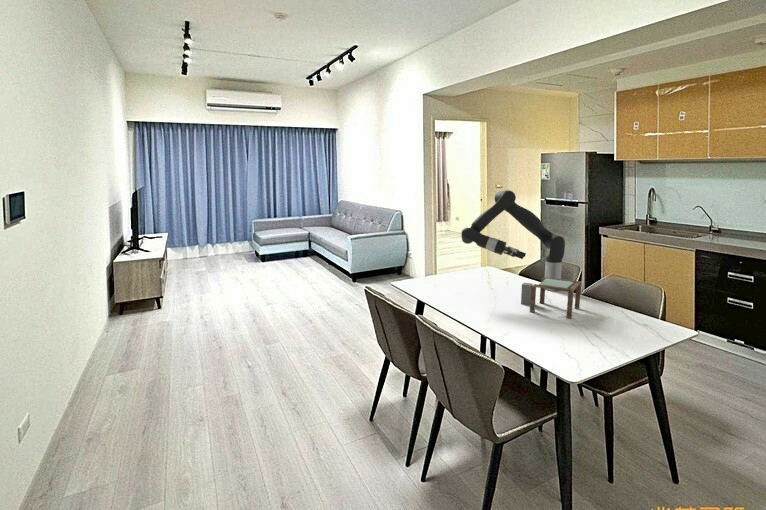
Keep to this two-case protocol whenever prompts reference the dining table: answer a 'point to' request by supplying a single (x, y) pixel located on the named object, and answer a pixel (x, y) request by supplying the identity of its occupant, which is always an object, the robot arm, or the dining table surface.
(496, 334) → the dining table surface
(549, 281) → the trapdoor
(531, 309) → the trapdoor frame
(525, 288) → the grey rectangular block
